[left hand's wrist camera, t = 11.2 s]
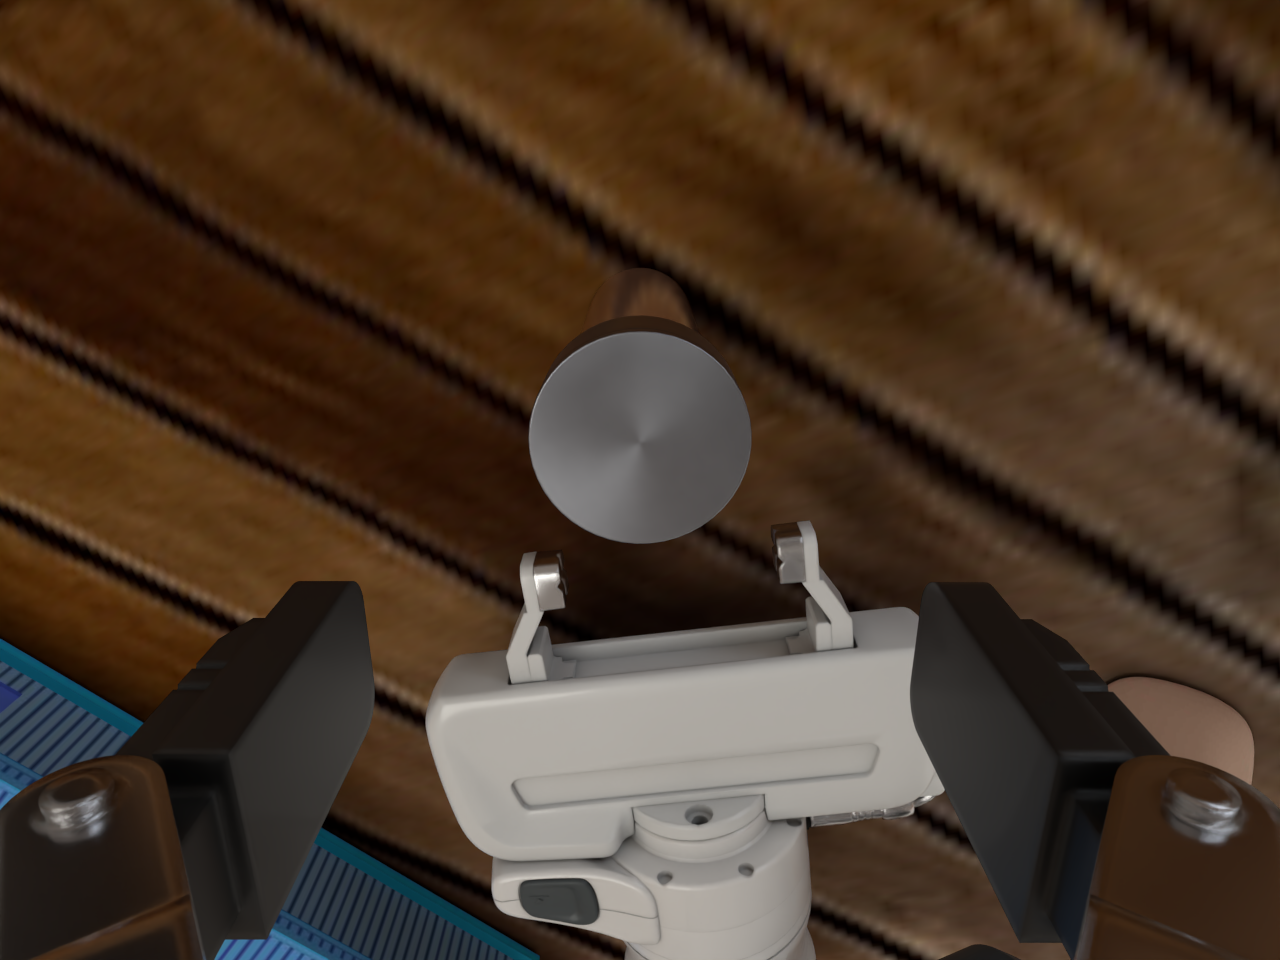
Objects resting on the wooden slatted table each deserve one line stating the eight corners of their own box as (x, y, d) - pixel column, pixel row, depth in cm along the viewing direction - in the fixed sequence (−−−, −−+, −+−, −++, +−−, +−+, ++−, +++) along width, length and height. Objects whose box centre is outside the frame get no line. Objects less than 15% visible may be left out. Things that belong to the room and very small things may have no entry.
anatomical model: (1105, 722, 37) (1362, 734, 37) (1063, 671, 41) (1296, 683, 41) (1038, 946, 41) (1266, 956, 42) (1005, 882, 45) (1215, 891, 45)
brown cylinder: (711, 332, 35) (765, 456, 20) (628, 391, 36) (619, 551, 21) (652, 246, 34) (662, 309, 19) (567, 308, 35) (512, 416, 20)
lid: (779, 438, 22) (793, 467, 20) (617, 544, 23) (615, 582, 21) (665, 271, 20) (667, 284, 18) (497, 393, 21) (482, 417, 19)
